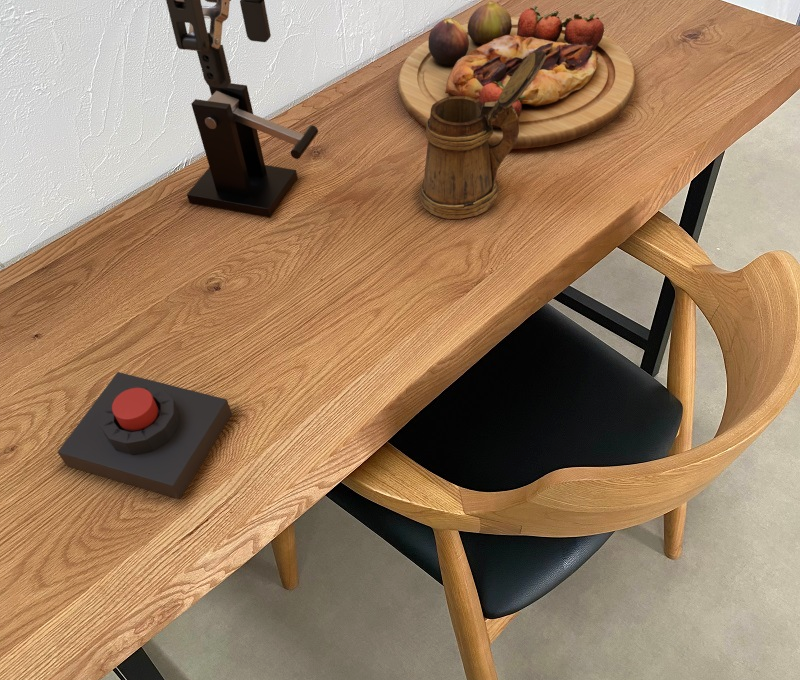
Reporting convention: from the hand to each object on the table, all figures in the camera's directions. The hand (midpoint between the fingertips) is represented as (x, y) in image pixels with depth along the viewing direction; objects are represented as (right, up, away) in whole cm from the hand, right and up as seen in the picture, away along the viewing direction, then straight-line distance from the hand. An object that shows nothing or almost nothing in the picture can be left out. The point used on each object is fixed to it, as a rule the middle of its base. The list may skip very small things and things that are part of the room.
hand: (240, 62), depth 74 cm
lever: (-1, -1, +16) cm, 16 cm away
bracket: (-4, -6, +24) cm, 25 cm away
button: (-9, -33, -3) cm, 34 cm away
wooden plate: (+31, +11, +35) cm, 48 cm away
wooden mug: (+24, -8, +20) cm, 32 cm away
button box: (-8, -35, 0) cm, 36 cm away
